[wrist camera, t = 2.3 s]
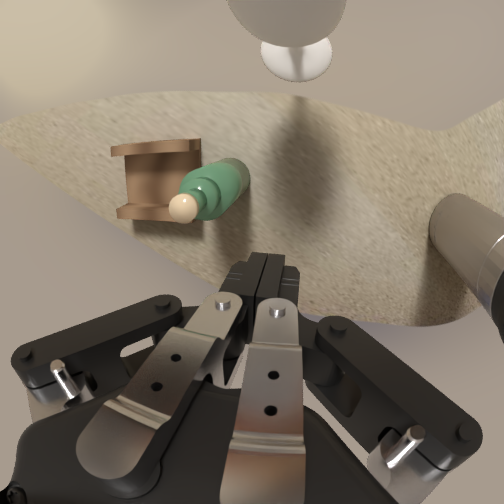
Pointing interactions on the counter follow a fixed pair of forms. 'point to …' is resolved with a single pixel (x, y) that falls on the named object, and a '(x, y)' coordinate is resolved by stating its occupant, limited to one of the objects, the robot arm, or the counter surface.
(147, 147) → the brown wooden u-shaped block
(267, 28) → the wineglass
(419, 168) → the counter surface
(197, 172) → the bottle
